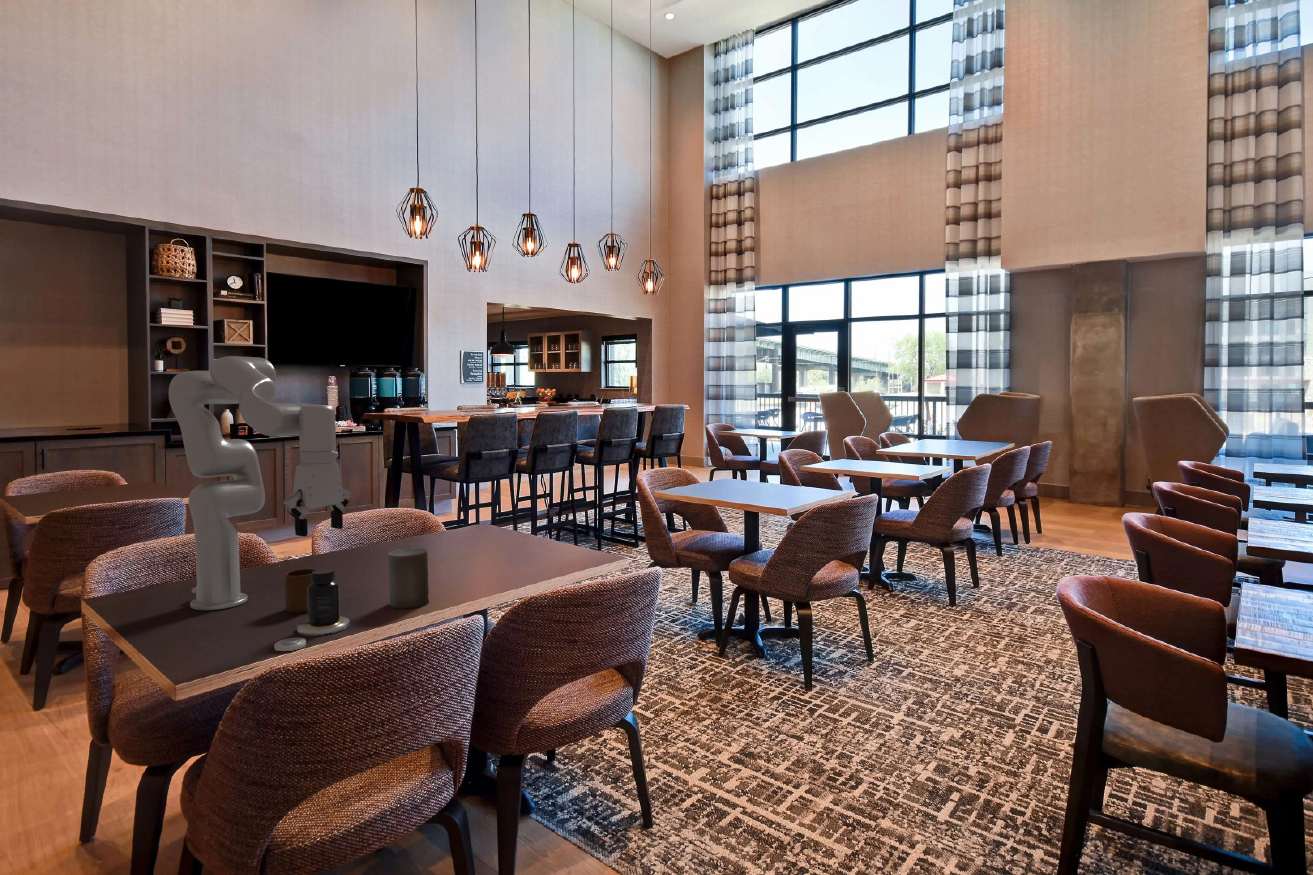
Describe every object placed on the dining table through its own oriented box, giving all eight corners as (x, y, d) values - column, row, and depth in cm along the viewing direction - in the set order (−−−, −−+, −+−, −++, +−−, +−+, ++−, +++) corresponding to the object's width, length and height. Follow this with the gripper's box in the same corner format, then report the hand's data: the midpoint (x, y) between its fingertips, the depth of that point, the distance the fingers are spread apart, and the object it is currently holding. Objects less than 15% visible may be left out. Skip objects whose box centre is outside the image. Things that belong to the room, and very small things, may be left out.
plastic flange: (268, 649, 152) (267, 644, 152) (292, 640, 157) (292, 635, 157) (287, 653, 149) (287, 648, 149) (312, 644, 155) (312, 639, 155)
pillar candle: (436, 601, 187) (435, 544, 186) (406, 611, 178) (405, 551, 178) (411, 596, 192) (410, 541, 191) (381, 605, 183) (379, 547, 183)
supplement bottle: (345, 618, 169) (344, 568, 168) (330, 627, 162) (329, 575, 162) (318, 616, 170) (317, 567, 169) (301, 626, 163) (300, 574, 162)
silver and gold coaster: (286, 631, 163) (286, 626, 163) (326, 617, 173) (326, 612, 173) (320, 638, 159) (320, 633, 159) (359, 624, 169) (359, 619, 169)
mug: (330, 599, 188) (329, 564, 188) (341, 605, 183) (340, 569, 182) (281, 608, 180) (280, 572, 180) (291, 615, 175) (290, 577, 174)
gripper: (337, 454, 173) (338, 524, 175) (273, 460, 158) (274, 537, 159) (360, 456, 170) (361, 527, 172) (296, 462, 155) (298, 540, 156)
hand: (319, 531), depth 165 cm, fingers open, 9 cm apart
